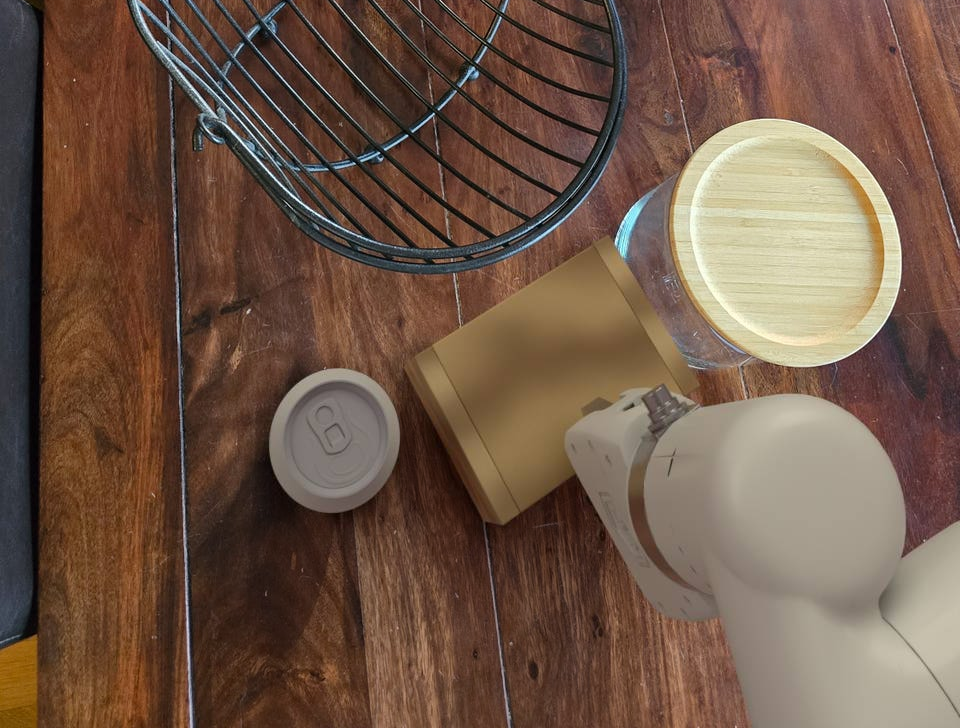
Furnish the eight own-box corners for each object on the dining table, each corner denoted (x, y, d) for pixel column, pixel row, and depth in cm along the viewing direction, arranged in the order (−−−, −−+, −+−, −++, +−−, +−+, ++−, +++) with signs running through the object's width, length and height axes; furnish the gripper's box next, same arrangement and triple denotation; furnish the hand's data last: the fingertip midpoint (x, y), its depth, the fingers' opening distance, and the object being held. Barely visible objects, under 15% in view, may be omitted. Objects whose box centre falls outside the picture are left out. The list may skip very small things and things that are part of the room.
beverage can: (306, 533, 67) (308, 544, 57) (251, 423, 70) (244, 414, 59) (406, 463, 70) (427, 461, 59) (351, 359, 72) (361, 339, 62)
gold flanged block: (666, 393, 74) (701, 385, 68) (483, 522, 69) (502, 526, 63) (583, 253, 77) (608, 234, 71) (403, 366, 72) (413, 356, 66)
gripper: (557, 389, 53) (495, 410, 69) (745, 724, 48) (632, 662, 64) (684, 304, 56) (596, 343, 72) (875, 613, 51) (735, 581, 67)
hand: (613, 494), depth 68 cm, fingers closed
